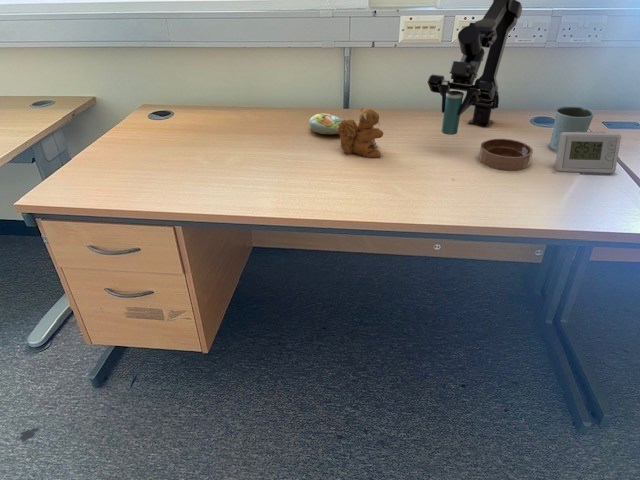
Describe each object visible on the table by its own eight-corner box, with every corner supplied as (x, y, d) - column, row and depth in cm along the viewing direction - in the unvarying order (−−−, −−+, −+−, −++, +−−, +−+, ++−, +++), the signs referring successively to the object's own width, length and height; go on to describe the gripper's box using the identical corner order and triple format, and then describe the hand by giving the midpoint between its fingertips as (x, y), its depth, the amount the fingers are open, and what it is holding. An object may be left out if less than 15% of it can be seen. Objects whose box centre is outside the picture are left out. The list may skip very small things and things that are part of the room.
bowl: (488, 148, 144) (491, 135, 141) (535, 159, 136) (539, 145, 134) (470, 164, 134) (473, 150, 132) (519, 176, 127) (523, 162, 125)
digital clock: (552, 173, 129) (562, 137, 123) (549, 160, 136) (558, 125, 130) (616, 180, 124) (630, 143, 118) (610, 166, 131) (623, 130, 126)
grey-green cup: (586, 148, 142) (598, 110, 136) (575, 158, 136) (587, 119, 130) (553, 140, 148) (563, 103, 141) (541, 150, 142) (551, 112, 135)
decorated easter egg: (329, 114, 166) (351, 110, 153) (329, 136, 167) (351, 134, 154) (302, 113, 161) (322, 108, 148) (302, 136, 162) (322, 133, 149)
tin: (451, 128, 138) (456, 89, 132) (461, 133, 135) (467, 94, 128) (437, 130, 137) (442, 92, 131) (447, 136, 133) (453, 96, 127)
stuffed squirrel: (382, 157, 140) (385, 115, 132) (336, 157, 140) (336, 115, 133) (381, 145, 148) (383, 104, 140) (337, 145, 149) (337, 104, 141)
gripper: (433, 45, 130) (414, 94, 129) (500, 52, 121) (479, 104, 120) (440, 67, 140) (422, 113, 139) (502, 75, 131) (483, 124, 130)
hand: (450, 113), depth 132 cm, fingers closed on tin, 4 cm apart
